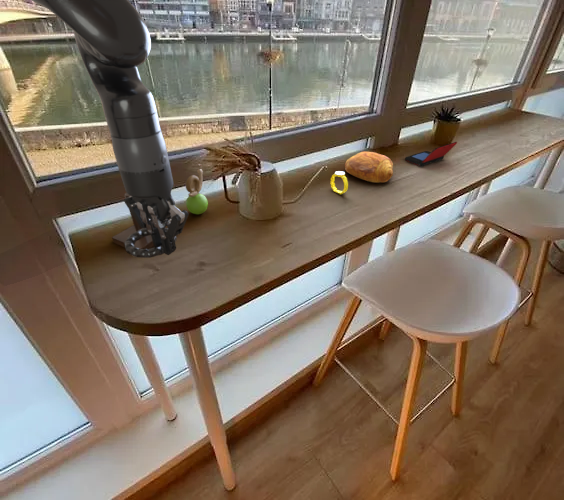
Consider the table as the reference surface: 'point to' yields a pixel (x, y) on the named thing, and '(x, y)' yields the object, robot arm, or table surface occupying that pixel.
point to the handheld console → (430, 155)
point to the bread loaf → (370, 167)
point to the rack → (122, 237)
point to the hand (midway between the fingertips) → (165, 250)
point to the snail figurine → (196, 194)
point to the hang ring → (142, 252)
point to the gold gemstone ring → (342, 175)
